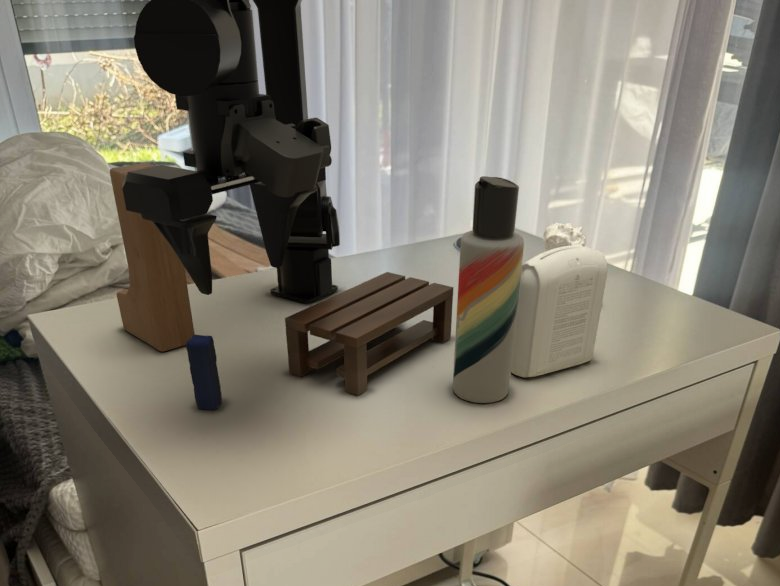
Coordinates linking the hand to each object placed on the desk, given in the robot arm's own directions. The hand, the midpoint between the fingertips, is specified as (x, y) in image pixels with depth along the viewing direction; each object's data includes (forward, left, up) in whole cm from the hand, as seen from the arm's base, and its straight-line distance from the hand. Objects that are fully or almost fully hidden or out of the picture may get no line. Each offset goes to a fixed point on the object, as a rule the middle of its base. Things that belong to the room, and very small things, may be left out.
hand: (243, 280), depth 70 cm
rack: (+4, +15, -11) cm, 19 cm away
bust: (+15, +40, -12) cm, 44 cm away
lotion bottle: (+18, +14, -12) cm, 25 cm away
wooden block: (-19, +5, -12) cm, 23 cm away
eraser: (-2, -4, -12) cm, 12 cm away
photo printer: (+21, +24, -12) cm, 34 cm away
